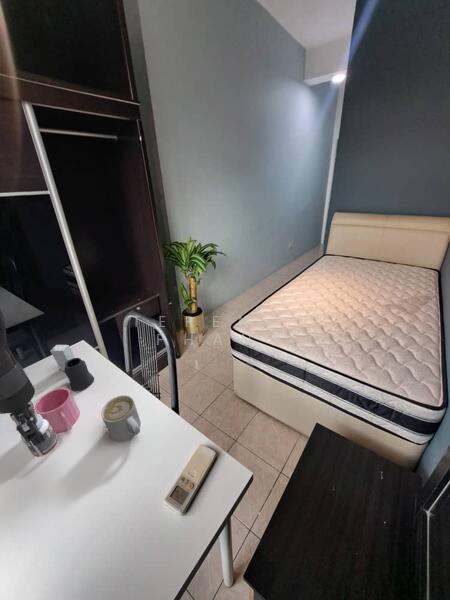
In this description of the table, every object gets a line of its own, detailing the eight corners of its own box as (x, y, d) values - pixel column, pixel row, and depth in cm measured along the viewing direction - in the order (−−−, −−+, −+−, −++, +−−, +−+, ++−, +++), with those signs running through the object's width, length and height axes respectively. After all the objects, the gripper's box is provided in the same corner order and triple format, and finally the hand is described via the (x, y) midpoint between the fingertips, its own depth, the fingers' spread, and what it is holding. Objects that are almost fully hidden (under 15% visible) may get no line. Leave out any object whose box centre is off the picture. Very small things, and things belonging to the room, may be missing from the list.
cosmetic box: (79, 365, 112) (70, 344, 107) (73, 372, 109) (63, 350, 103) (66, 364, 113) (56, 343, 107) (60, 371, 109) (49, 350, 103)
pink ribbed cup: (42, 421, 88) (30, 402, 83) (73, 401, 94) (64, 383, 89) (56, 446, 79) (43, 426, 74) (88, 423, 86) (79, 403, 81)
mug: (98, 380, 103) (90, 359, 98) (76, 395, 97) (66, 374, 92) (83, 369, 110) (75, 349, 104) (62, 382, 103) (52, 362, 98)
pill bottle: (60, 432, 67) (46, 408, 62) (56, 452, 62) (40, 428, 57) (36, 440, 65) (19, 416, 60) (29, 461, 60) (11, 437, 56)
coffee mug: (105, 427, 84) (96, 408, 79) (132, 409, 90) (126, 390, 85) (121, 456, 75) (112, 436, 70) (150, 433, 81) (144, 414, 76)
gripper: (-18, 376, 55) (15, 424, 63) (-16, 417, 46) (23, 467, 54) (22, 360, 60) (48, 406, 68) (32, 394, 50) (61, 443, 58)
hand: (37, 433), depth 61 cm, fingers closed on pill bottle, 5 cm apart
